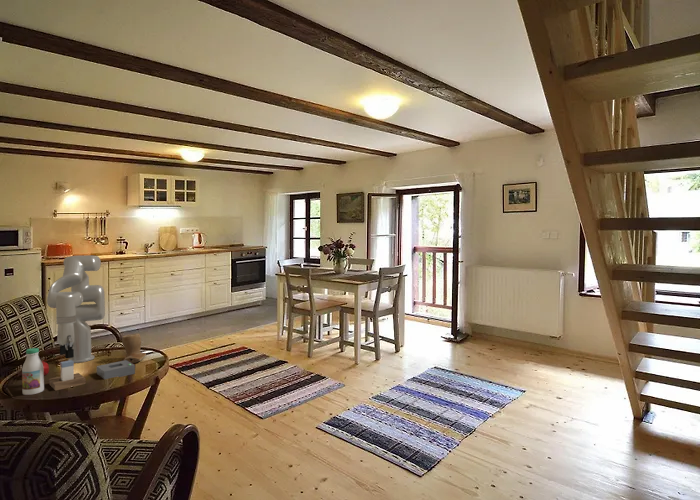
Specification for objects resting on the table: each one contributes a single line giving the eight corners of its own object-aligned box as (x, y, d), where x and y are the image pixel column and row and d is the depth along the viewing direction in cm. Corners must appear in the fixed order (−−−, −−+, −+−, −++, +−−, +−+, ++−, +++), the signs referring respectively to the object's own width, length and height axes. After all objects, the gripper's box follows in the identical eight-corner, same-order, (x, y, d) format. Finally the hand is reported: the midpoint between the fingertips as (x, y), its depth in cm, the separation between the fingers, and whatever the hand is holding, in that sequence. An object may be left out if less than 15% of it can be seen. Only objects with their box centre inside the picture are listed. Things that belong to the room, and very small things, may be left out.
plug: (60, 384, 194) (60, 362, 193) (72, 381, 197) (71, 360, 197) (62, 385, 191) (62, 363, 191) (74, 383, 195) (73, 361, 195)
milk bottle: (30, 389, 188) (29, 346, 188) (48, 389, 189) (47, 346, 188) (18, 396, 181) (17, 351, 180) (36, 395, 181) (35, 351, 180)
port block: (96, 374, 209) (96, 365, 208) (126, 368, 219) (126, 359, 219) (104, 380, 200) (104, 370, 200) (134, 373, 211) (134, 364, 211)
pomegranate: (42, 372, 213) (42, 354, 213) (53, 374, 209) (53, 356, 209) (20, 377, 204) (20, 359, 204) (31, 380, 200) (31, 361, 200)
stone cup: (126, 356, 240) (126, 331, 239) (148, 355, 242) (147, 330, 242) (117, 364, 225) (116, 337, 224) (140, 363, 227) (140, 336, 227)
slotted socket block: (49, 385, 194) (49, 379, 194) (78, 378, 203) (78, 372, 203) (55, 391, 186) (55, 385, 186) (85, 384, 195) (85, 378, 194)
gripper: (52, 318, 196) (52, 354, 196) (61, 323, 184) (61, 361, 185) (70, 316, 202) (71, 351, 202) (80, 321, 190) (81, 357, 190)
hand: (66, 355), depth 193 cm, fingers open, 9 cm apart
